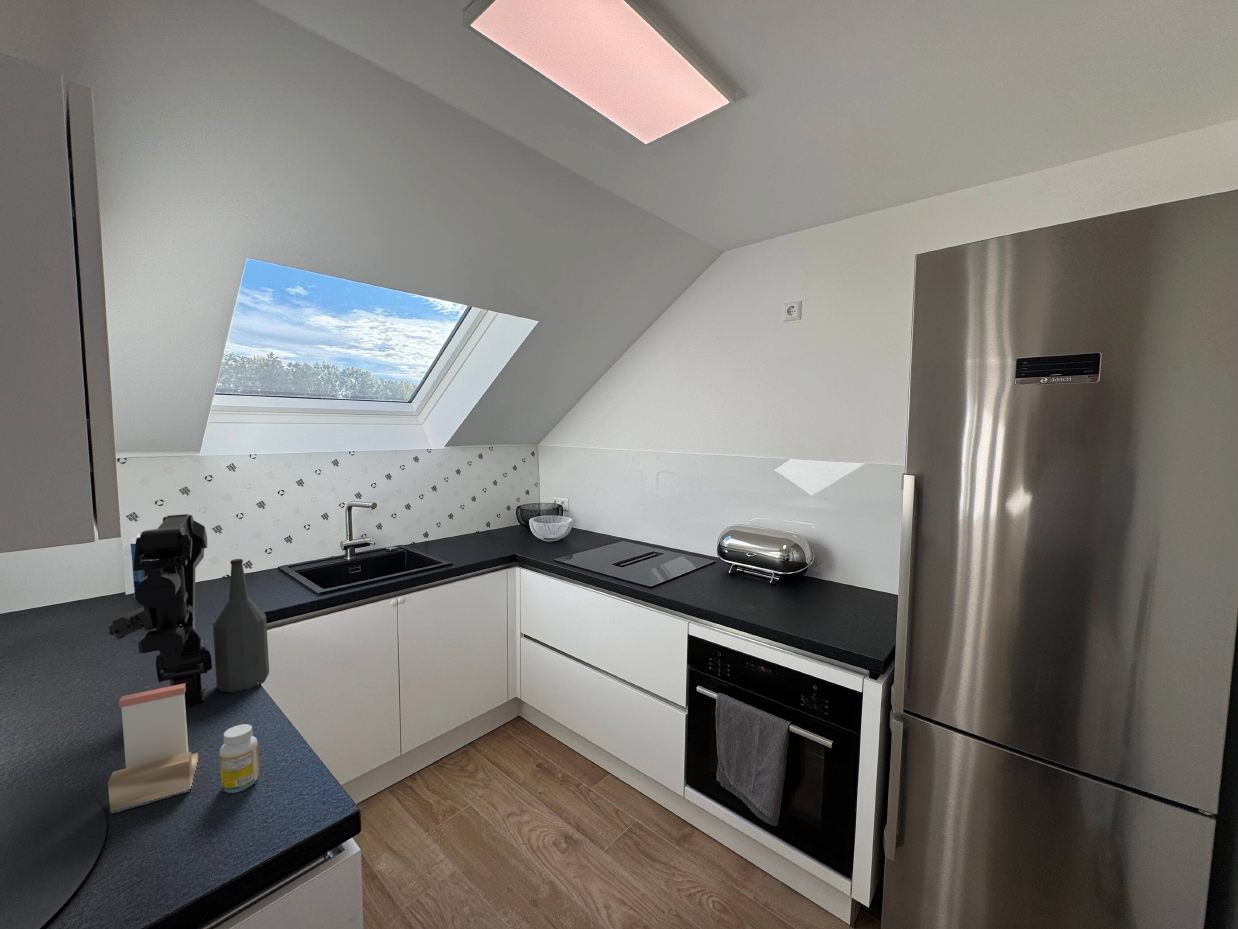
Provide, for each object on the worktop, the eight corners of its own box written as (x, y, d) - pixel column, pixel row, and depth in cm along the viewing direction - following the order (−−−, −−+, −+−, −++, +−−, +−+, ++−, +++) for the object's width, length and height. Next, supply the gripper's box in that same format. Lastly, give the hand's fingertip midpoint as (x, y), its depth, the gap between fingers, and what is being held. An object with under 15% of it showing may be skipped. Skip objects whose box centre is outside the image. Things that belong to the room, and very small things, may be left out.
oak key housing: (126, 779, 93) (123, 749, 93) (198, 760, 98) (196, 731, 98) (110, 815, 85) (107, 782, 84) (190, 792, 90) (188, 760, 89)
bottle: (228, 697, 121) (220, 567, 118) (209, 686, 126) (201, 561, 123) (277, 679, 129) (271, 557, 127) (257, 669, 134) (250, 552, 132)
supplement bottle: (245, 795, 89) (242, 740, 88) (213, 794, 89) (209, 740, 88) (266, 773, 95) (263, 721, 94) (236, 773, 95) (233, 721, 94)
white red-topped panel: (127, 776, 91) (121, 696, 90) (190, 759, 96) (185, 683, 94) (125, 782, 90) (118, 701, 89) (189, 765, 94) (183, 687, 93)
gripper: (123, 586, 109) (129, 661, 110) (97, 614, 93) (103, 701, 94) (193, 578, 115) (197, 648, 116) (179, 603, 99) (184, 684, 100)
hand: (172, 669), depth 106 cm, fingers closed
